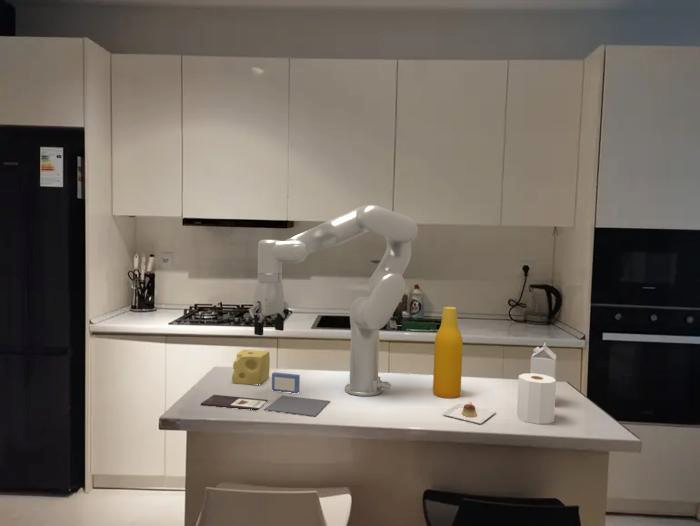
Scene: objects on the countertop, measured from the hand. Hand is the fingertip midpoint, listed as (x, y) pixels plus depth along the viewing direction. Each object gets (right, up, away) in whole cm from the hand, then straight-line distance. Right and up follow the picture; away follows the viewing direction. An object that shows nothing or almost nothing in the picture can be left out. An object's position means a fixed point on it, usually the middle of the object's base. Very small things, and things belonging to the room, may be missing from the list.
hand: (269, 332), depth 169 cm
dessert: (+61, -24, -11) cm, 66 cm away
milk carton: (+87, -23, +2) cm, 90 cm away
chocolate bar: (-10, -21, -6) cm, 24 cm away
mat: (+10, -21, -8) cm, 25 cm away
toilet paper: (+80, -24, -12) cm, 84 cm away
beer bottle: (+58, -22, +8) cm, 62 cm away
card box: (+4, -21, +6) cm, 22 cm away
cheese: (-9, -20, +18) cm, 28 cm away
